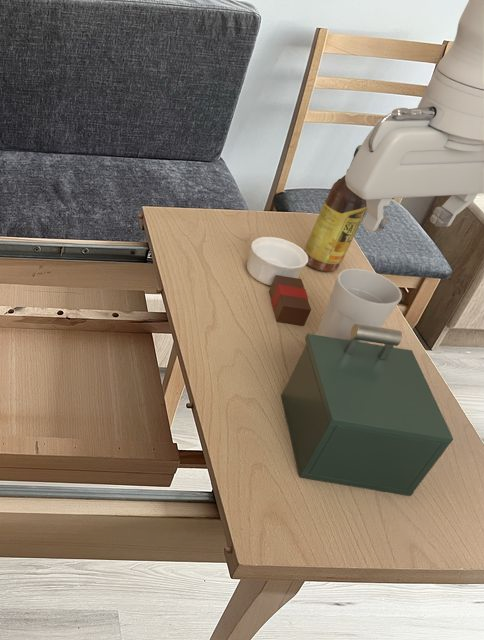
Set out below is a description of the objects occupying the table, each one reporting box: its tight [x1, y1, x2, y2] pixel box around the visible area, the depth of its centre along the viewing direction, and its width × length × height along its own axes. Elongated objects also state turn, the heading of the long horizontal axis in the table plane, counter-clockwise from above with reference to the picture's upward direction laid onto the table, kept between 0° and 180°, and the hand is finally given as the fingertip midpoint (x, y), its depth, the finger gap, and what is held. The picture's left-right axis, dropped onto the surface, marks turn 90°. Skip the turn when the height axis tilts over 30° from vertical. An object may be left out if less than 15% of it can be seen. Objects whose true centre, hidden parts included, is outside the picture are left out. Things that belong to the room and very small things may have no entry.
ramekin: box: [246, 236, 308, 287], centre depth 110 cm, size 9×9×4 cm
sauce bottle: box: [303, 144, 368, 272], centre depth 109 cm, size 6×6×20 cm
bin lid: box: [304, 324, 454, 445], centre depth 77 cm, size 15×13×5 cm
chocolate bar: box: [268, 275, 312, 327], centre depth 103 cm, size 4×8×3 cm, turn 172°
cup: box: [315, 267, 403, 344], centre depth 93 cm, size 8×8×12 cm
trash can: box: [280, 344, 450, 497], centre depth 81 cm, size 14×13×9 cm
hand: (405, 226), depth 79 cm, fingers open, 8 cm apart
